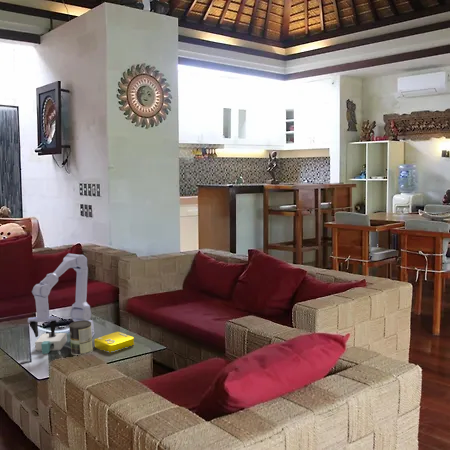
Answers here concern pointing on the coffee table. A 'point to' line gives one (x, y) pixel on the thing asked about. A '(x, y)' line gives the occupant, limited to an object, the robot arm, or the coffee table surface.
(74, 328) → the coffee can
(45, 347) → the block
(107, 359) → the coffee table surface
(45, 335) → the housing
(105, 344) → the element tile
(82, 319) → the robot arm
